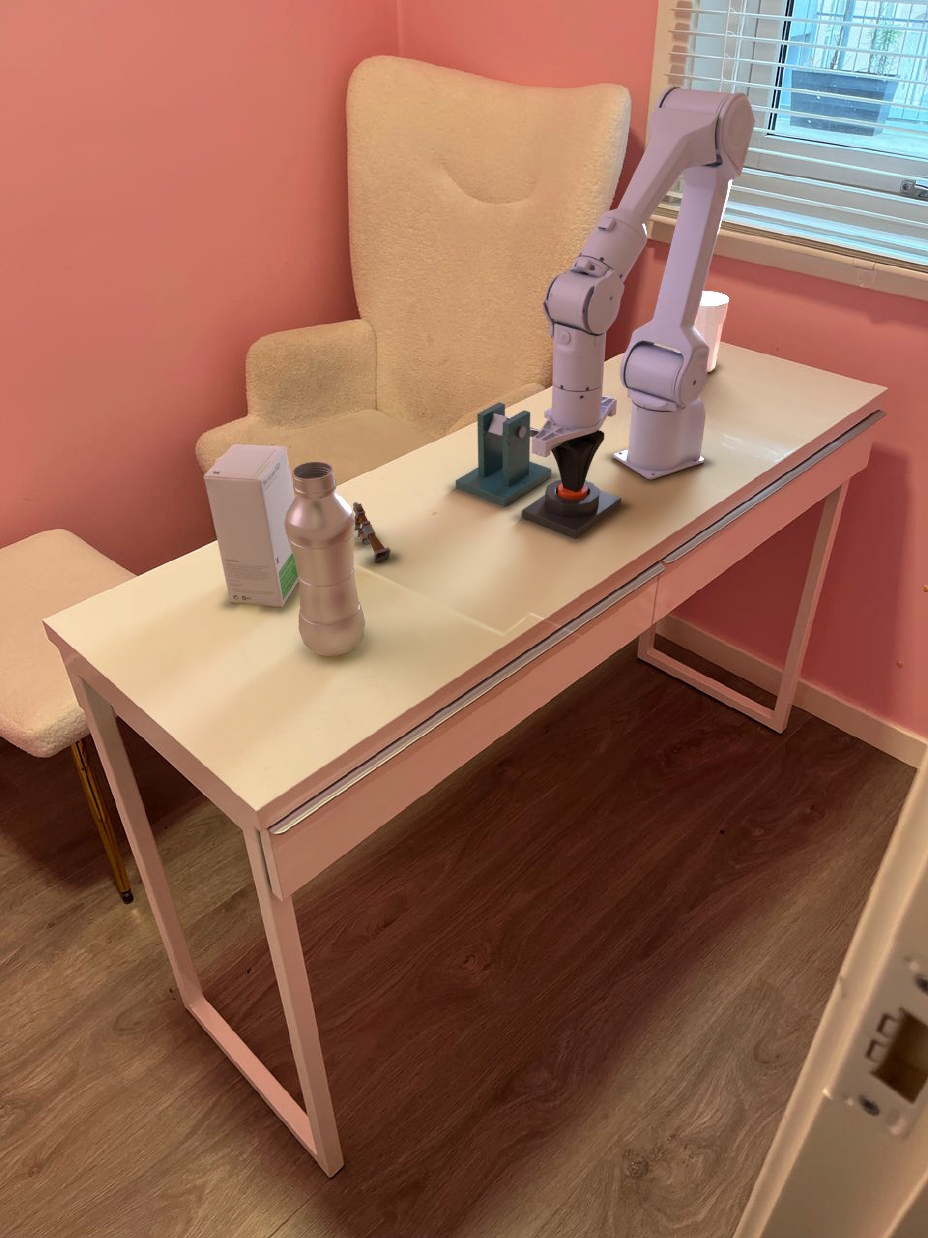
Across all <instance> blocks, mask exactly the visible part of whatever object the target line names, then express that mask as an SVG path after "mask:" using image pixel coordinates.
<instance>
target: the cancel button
mask: <svg viewBox="0 0 928 1238" xmlns="http://www.w3.org/2000/svg"><path fill="white" fill-rule="evenodd" d="M587 491H588V488H587V486H586V485H585V484H584V485H583V488H582V489H580V490H579V491H578V492H574V491H571V490H568V489H565V488H563V485H562V483H561V484H560V485H559V486H558V496H559V497H562V498H565V499H574V500H577V499H581V498H585V497H586V496H587Z"/></svg>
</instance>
